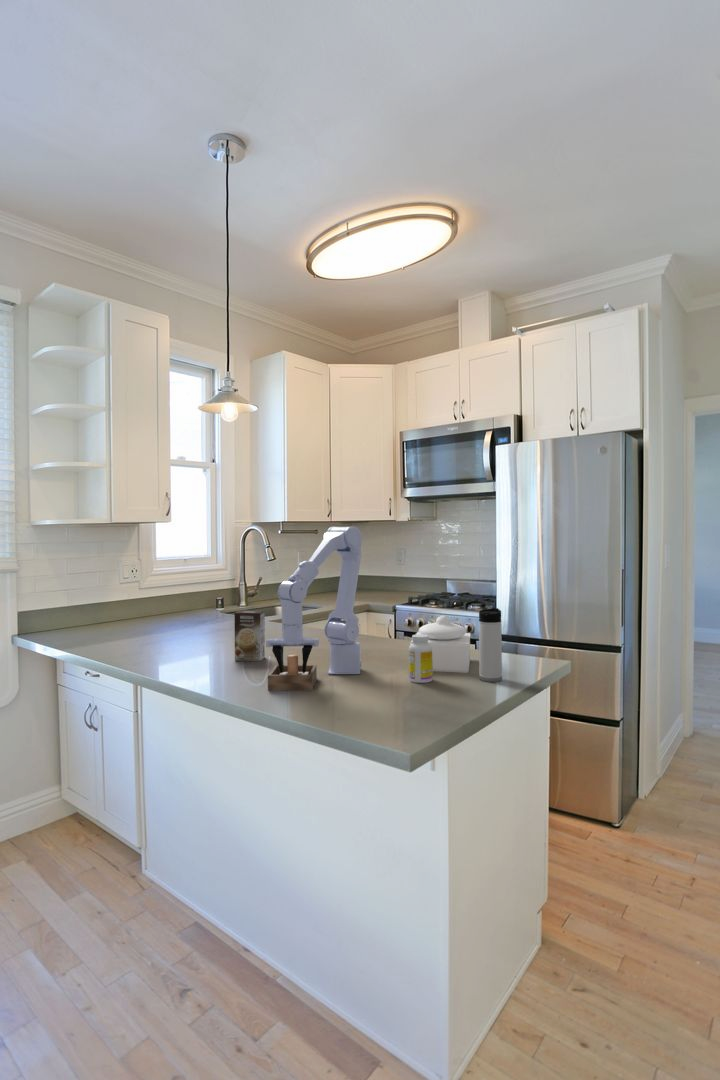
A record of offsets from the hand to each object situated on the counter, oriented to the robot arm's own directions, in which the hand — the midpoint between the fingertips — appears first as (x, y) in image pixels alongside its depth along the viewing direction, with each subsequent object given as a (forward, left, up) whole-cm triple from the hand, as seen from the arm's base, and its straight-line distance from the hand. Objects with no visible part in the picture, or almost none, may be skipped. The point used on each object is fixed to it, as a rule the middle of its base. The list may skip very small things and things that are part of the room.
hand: (292, 672), depth 162 cm
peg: (0, 0, -3) cm, 3 cm away
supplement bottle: (-36, -3, -4) cm, 36 cm away
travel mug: (-56, -4, -4) cm, 56 cm away
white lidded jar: (-44, -22, -4) cm, 50 cm away
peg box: (0, 0, -3) cm, 3 cm away
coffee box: (+19, -32, -4) cm, 37 cm away
